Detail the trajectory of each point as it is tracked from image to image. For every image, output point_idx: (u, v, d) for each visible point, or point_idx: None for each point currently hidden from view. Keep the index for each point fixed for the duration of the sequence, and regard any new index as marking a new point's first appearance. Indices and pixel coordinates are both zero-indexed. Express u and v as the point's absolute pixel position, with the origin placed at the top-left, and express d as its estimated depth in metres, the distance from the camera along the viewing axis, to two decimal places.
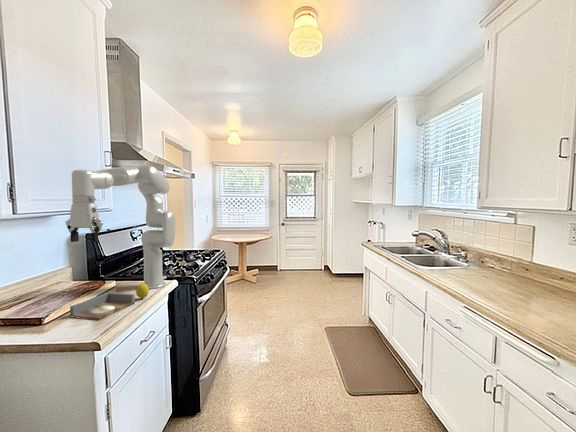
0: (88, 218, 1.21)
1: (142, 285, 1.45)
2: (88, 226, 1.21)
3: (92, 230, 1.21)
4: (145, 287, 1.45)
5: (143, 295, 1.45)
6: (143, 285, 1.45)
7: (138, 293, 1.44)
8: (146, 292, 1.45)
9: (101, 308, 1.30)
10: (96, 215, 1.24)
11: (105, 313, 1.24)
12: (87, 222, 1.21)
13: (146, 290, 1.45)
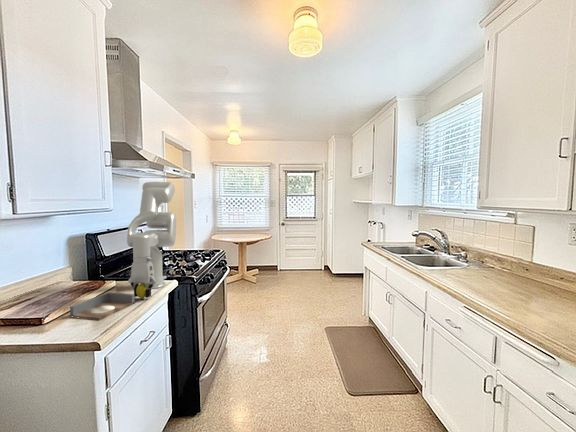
0: (147, 276, 1.43)
1: (142, 285, 1.45)
2: (147, 282, 1.44)
3: (147, 287, 1.44)
4: (145, 287, 1.45)
5: (143, 295, 1.45)
6: (143, 285, 1.45)
7: (138, 293, 1.44)
8: None
9: (101, 308, 1.30)
10: (152, 272, 1.46)
11: (105, 313, 1.24)
12: (146, 279, 1.43)
13: None
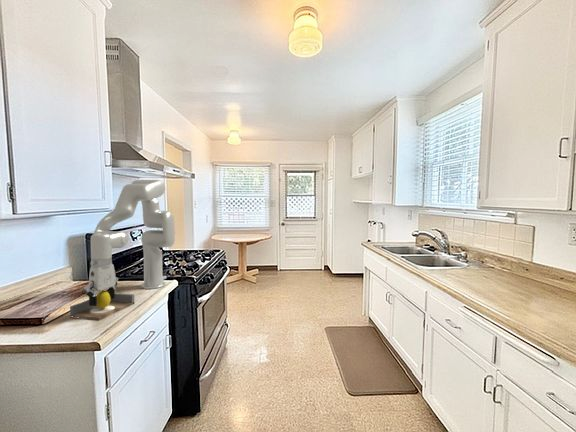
0: None
1: (98, 293, 1.28)
2: None
3: None
4: (97, 296, 1.27)
5: None
6: (98, 293, 1.28)
7: None
8: (97, 302, 1.27)
9: (101, 308, 1.30)
10: (94, 279, 1.23)
11: (105, 313, 1.24)
12: None
13: None
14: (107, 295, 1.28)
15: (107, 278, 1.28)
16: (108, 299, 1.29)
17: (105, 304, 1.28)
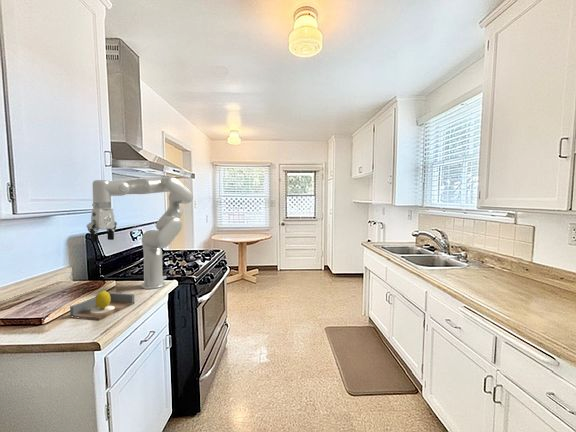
0: None
1: (98, 293, 1.28)
2: None
3: None
4: (97, 296, 1.27)
5: (96, 304, 1.28)
6: (98, 293, 1.28)
7: None
8: (97, 302, 1.27)
9: (101, 308, 1.30)
10: (95, 219, 1.40)
11: (105, 313, 1.24)
12: None
13: (97, 300, 1.27)
14: (107, 295, 1.28)
15: (107, 220, 1.45)
16: (108, 299, 1.29)
17: (105, 304, 1.28)
